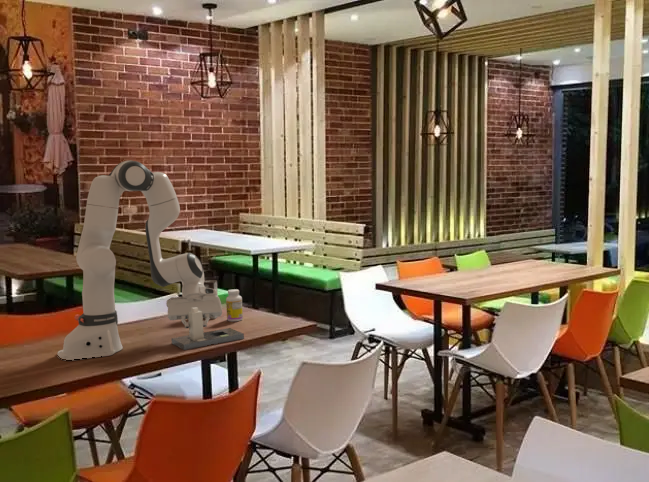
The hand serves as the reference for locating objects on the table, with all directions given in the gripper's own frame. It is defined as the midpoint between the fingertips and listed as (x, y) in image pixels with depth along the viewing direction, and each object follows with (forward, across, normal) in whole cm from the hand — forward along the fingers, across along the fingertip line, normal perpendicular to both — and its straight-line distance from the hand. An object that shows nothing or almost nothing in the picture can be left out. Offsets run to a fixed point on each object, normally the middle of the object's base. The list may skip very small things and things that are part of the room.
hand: (196, 326), depth 262 cm
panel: (+3, +4, +6) cm, 8 cm away
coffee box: (-26, +5, +36) cm, 45 cm away
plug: (+4, 0, +5) cm, 6 cm away
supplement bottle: (-20, +17, +29) cm, 39 cm away
